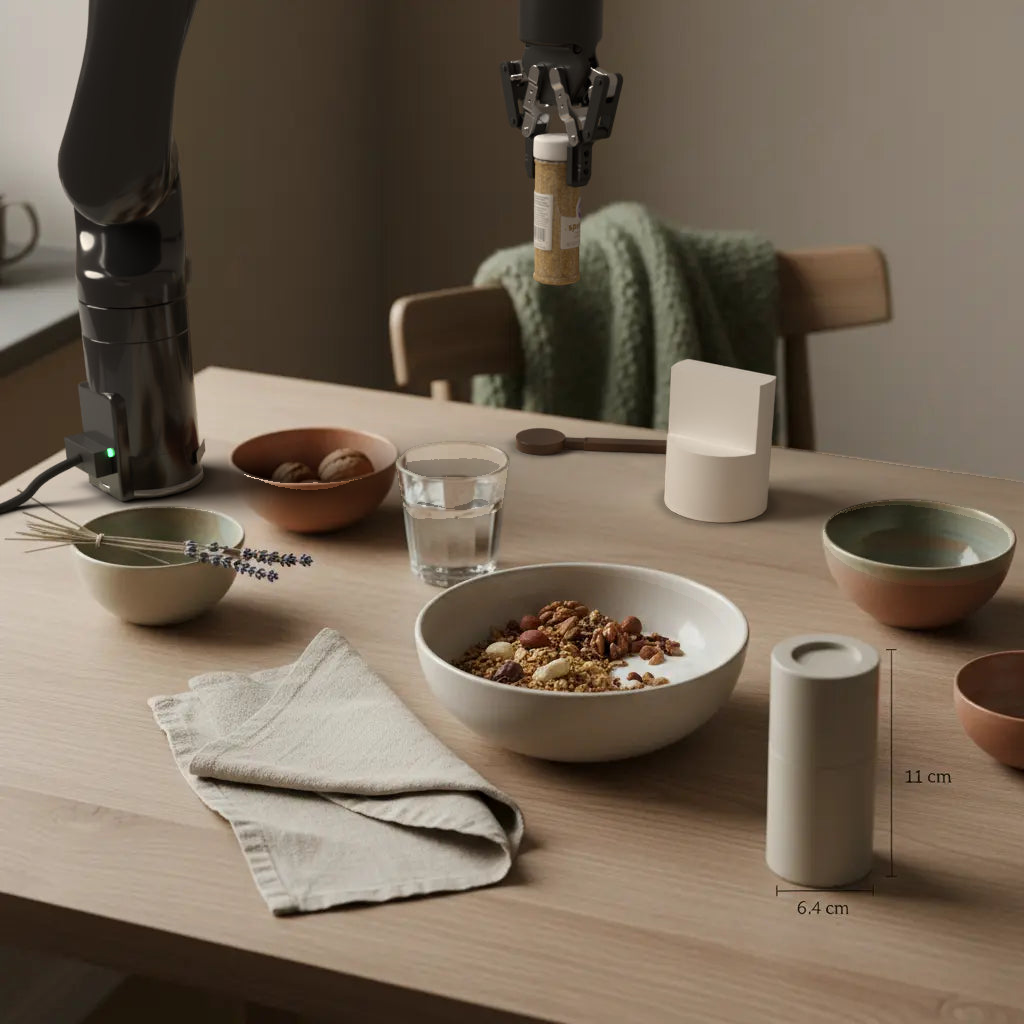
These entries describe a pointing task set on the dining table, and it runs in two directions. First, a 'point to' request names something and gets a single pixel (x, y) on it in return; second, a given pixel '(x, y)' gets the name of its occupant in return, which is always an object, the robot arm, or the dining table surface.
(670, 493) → the base with upright slab
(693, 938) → the dining table surface
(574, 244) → the spice jar
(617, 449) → the spoon
